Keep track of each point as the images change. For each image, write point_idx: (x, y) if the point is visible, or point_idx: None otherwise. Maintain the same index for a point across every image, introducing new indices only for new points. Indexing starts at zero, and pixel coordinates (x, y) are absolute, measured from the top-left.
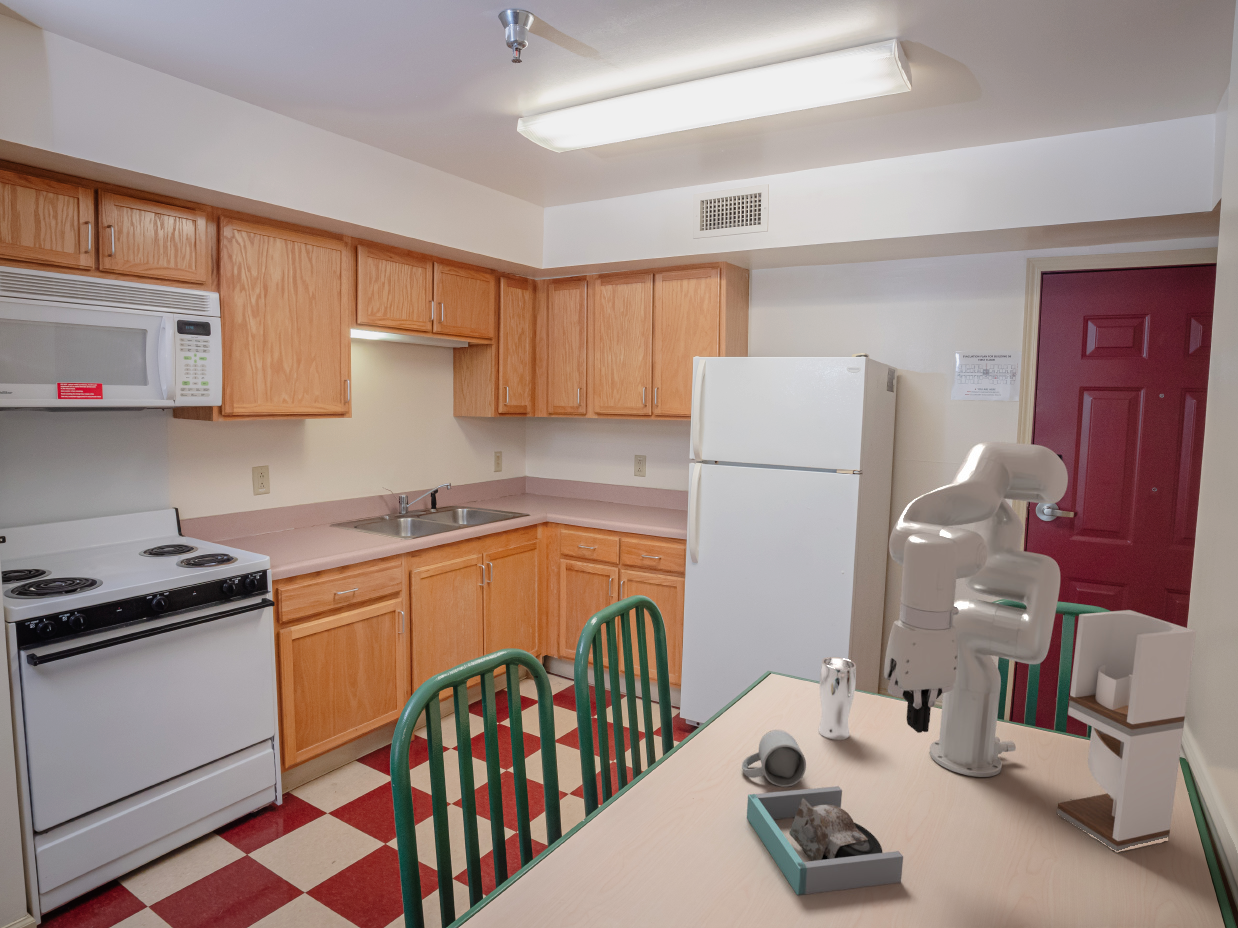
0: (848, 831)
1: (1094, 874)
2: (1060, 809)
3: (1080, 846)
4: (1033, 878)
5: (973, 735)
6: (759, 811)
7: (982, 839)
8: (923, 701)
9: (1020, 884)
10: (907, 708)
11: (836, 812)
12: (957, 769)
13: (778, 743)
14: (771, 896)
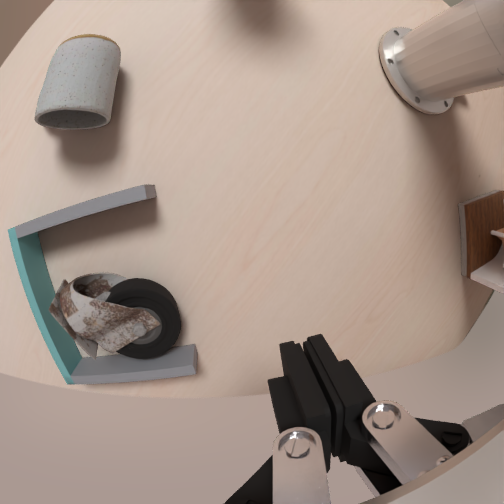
0: (129, 321)
1: (424, 312)
2: (464, 209)
3: (444, 266)
4: (365, 330)
5: (453, 85)
6: (19, 273)
7: (355, 259)
8: (351, 459)
9: (344, 342)
10: (277, 418)
11: (104, 317)
12: (402, 93)
13: (44, 102)
14: None
